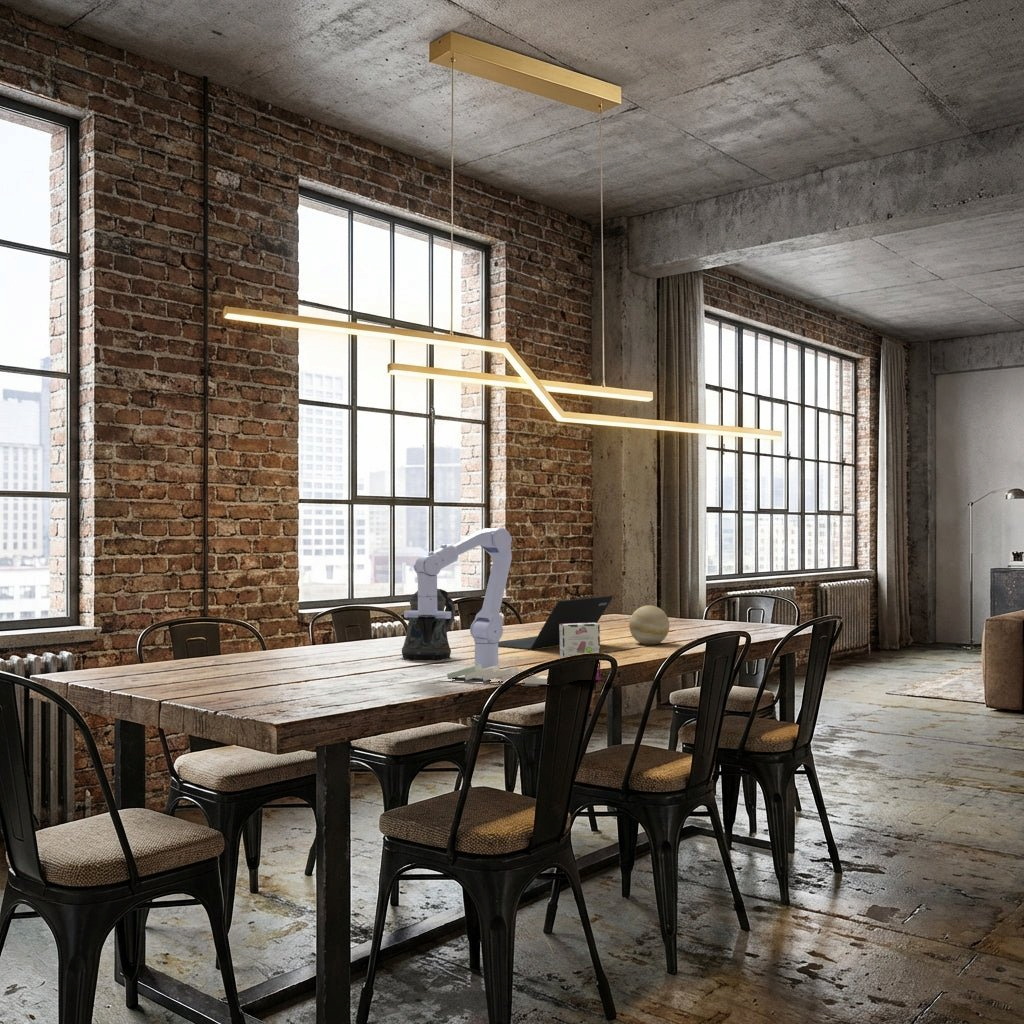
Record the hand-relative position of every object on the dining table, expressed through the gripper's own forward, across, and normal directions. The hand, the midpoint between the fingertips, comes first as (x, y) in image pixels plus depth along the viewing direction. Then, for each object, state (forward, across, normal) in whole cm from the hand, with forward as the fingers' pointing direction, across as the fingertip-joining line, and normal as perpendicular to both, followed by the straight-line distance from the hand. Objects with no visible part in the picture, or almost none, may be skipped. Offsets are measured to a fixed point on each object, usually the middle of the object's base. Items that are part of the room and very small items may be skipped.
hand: (427, 642), depth 305 cm
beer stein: (+11, -19, +40) cm, 45 cm away
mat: (+10, +18, -1) cm, 21 cm away
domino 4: (+9, +30, -1) cm, 31 cm away
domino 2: (+9, +19, -1) cm, 21 cm away
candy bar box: (+11, +44, +10) cm, 46 cm away
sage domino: (+9, +8, -1) cm, 12 cm away
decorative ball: (+11, +42, +106) cm, 114 cm away
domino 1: (+9, +14, -1) cm, 16 cm away
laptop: (+11, +8, +88) cm, 89 cm away
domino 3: (+9, +25, -1) cm, 27 cm away
